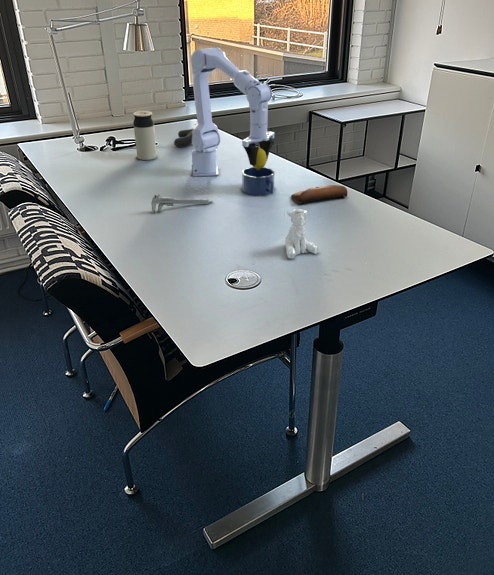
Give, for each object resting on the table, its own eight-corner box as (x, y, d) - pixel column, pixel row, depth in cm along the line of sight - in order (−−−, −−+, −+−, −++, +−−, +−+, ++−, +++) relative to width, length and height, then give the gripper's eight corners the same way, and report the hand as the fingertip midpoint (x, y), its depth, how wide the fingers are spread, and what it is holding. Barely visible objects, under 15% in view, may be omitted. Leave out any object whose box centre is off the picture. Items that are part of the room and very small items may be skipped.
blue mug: (236, 187, 188) (236, 170, 184) (262, 181, 193) (262, 164, 190) (259, 200, 178) (259, 182, 174) (285, 193, 183) (286, 176, 179)
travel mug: (148, 161, 213) (143, 116, 203) (133, 158, 216) (128, 113, 207) (160, 156, 218) (156, 112, 209) (146, 153, 222) (141, 109, 212)
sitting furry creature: (288, 260, 142) (290, 219, 136) (274, 246, 149) (275, 207, 142) (319, 253, 145) (322, 213, 139) (304, 240, 152) (306, 202, 146)
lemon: (268, 168, 184) (269, 146, 180) (262, 173, 180) (262, 150, 175) (254, 166, 186) (254, 144, 182) (247, 171, 182) (247, 148, 177)
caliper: (153, 214, 168) (151, 195, 165) (152, 213, 169) (150, 194, 166) (212, 203, 176) (211, 185, 172) (210, 202, 177) (210, 184, 173)
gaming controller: (179, 153, 229) (198, 142, 226) (171, 142, 227) (190, 130, 224) (184, 142, 243) (202, 131, 241) (177, 132, 241) (195, 120, 238)
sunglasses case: (335, 188, 186) (341, 176, 180) (343, 204, 183) (349, 191, 177) (289, 195, 180) (294, 182, 175) (296, 211, 177) (301, 199, 172)
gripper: (253, 129, 167) (253, 170, 174) (281, 120, 177) (280, 160, 184) (237, 125, 171) (237, 166, 178) (265, 117, 181) (265, 156, 188)
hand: (258, 162), depth 181 cm, fingers closed on lemon, 5 cm apart
